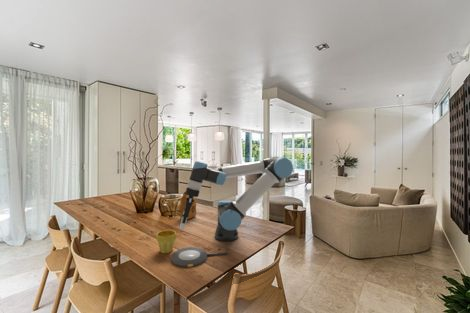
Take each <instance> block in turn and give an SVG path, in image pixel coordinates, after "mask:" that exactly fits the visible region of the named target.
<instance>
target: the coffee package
mask: <svg viewBox="0 0 470 313" xmlns="http://www.w3.org/2000/svg"><path fill="white" fill-rule="evenodd" d="M185 192H186V191H185ZM185 192H183V194H182V196H181V198H180V207H179V208H180V211H179V212H180V219H182V215H183V212H184V209H185V206H186V199H187V197H189V195H187V194H185ZM193 199H194V201H193V203H192V206H191V208H190V212H189V215H188V218H187V220H189V219H191V218H195V217H196V216H197V201H196V197H193Z"/></svg>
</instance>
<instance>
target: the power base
mask: <svg viewBox="0 0 470 313" xmlns="http://www.w3.org/2000/svg"><path fill="white" fill-rule="evenodd" d="M228 254H229V252H228V251H225V252H214V253H208V252H207V251H206V250H205V249H203V248H201V247H195V246H194V247H193V246H191V247H183V248H179V249H177V250H176V251H173V253H172V254H171V257H170V258H171V260H170V261H171V263H172V264H174V266H178V267H182V268H191V267H195V266H199V265H201V264H203V263H205V262H206V260H207V258H208V257H212V256H219V255H220V256H222V255H228Z"/></svg>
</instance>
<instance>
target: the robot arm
mask: <svg viewBox="0 0 470 313" xmlns="http://www.w3.org/2000/svg"><path fill="white" fill-rule="evenodd" d="M293 171H294V165H293V163H292V161H291V160H290V159H288V158H287V157H284V156H271V157H269V158H262V159H260V160H259V161H253V162H247V163H241V164H234V165H232V164H231V165H228V166H221V167H220V166H219V167H211V168H210V167H209V166H208V164H207V163H206V162H203V161H199V160H197V161H194V164H193V166H192V169H191V173H190V177H189V180H187V187H186V189H185V194H187V195H189V197H187V199H186V206H185V209H184V212H183V215H182V219H181V218H180V219H181V220H180V224H179V227H178V229H179V230H182V231H183V230H185V227H186V225H187V221H188V219H187V218H188V215H189V212H190V208H191V206H192V203H193V201H194V199H193V197H194V198H198V197H199V195H200V190H201V189H202V185H203V181H206V182H209V183H212V184H215V185H217V186H218V185H219V186H223V185H224V184H225V182H226V179H231V178H236V177H243V176H250V175H256V174H257V175H258V174H262V175H261V176H260V177H258V178H257V179H256V181H255V182H254V183H253V184H252V185H251V186H250V187H248V189H246V190H245V191H244V192H243V193H242V194H241V195H240V196H239V197H238V198H237V199H236V200H219V201H218V202H217V225H216V229H215V232H214V238H215V240H217V241H221V242H231V241H235V240H237V239H238V238H239V231H238V228H239V227H240V226H241V224H242V221H243V219H245V217H246V215H247V212H248V211H249V210H250V208H252V207H253V205H254V204H256V203H257V202H258V201H259V199H261V198H262V196H264V195H265V194H266V193H267V192H268V191H269V189H271V188H272V187H273V185H274V184H279V183H280V182H282V180H283V179H286V178H288V177H290V176H291V175H292V174H293Z"/></svg>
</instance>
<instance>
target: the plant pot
mask: <svg viewBox="0 0 470 313" xmlns="http://www.w3.org/2000/svg"><path fill="white" fill-rule="evenodd" d="M155 235H156V236H155V238H156V242H157V244H158V247H159V252H160V253H161V254H169V253H171V252H172V251H173V250H174V246H175V241H176V239H177V232H176V231H175V230H171V229H165V230H160V231H158V232H157V233H156V234H155Z"/></svg>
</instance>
